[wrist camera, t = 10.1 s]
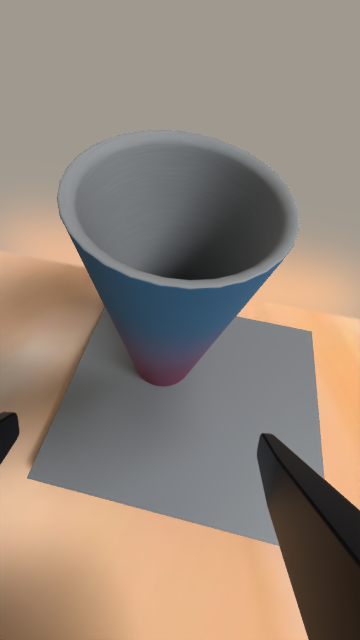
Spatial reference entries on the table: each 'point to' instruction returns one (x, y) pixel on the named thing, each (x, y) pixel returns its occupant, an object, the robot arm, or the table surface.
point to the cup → (175, 239)
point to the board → (186, 426)
